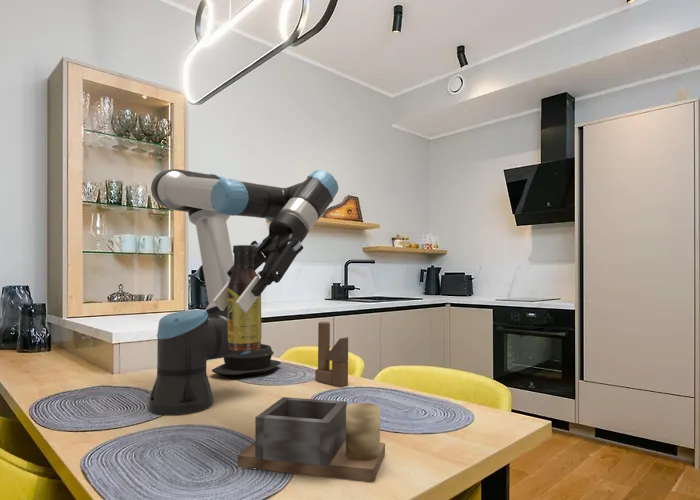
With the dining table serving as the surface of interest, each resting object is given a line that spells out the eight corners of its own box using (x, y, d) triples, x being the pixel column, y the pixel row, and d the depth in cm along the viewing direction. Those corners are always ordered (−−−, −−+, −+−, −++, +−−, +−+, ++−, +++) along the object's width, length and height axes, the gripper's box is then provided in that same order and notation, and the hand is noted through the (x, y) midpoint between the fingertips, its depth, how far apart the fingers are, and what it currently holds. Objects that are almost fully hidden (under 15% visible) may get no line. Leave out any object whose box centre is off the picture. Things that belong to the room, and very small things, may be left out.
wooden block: (339, 387, 138) (340, 325, 138) (314, 381, 145) (315, 322, 146) (348, 385, 140) (348, 324, 141) (323, 379, 148) (323, 321, 148)
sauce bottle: (231, 347, 93) (230, 246, 94) (263, 346, 93) (262, 245, 94) (224, 353, 86) (224, 244, 87) (259, 352, 87) (258, 243, 88)
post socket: (236, 468, 82) (236, 409, 82) (265, 441, 95) (266, 390, 95) (373, 483, 76) (373, 420, 77) (385, 452, 89) (385, 398, 90)
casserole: (240, 383, 142) (240, 355, 142) (198, 375, 152) (198, 349, 152) (293, 369, 163) (293, 344, 163) (253, 362, 173) (254, 339, 173)
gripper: (335, 235, 97) (275, 323, 83) (271, 239, 109) (210, 317, 95) (317, 206, 93) (251, 294, 79) (253, 214, 105) (186, 291, 91)
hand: (229, 306), depth 87 cm, fingers closed on sauce bottle, 6 cm apart
